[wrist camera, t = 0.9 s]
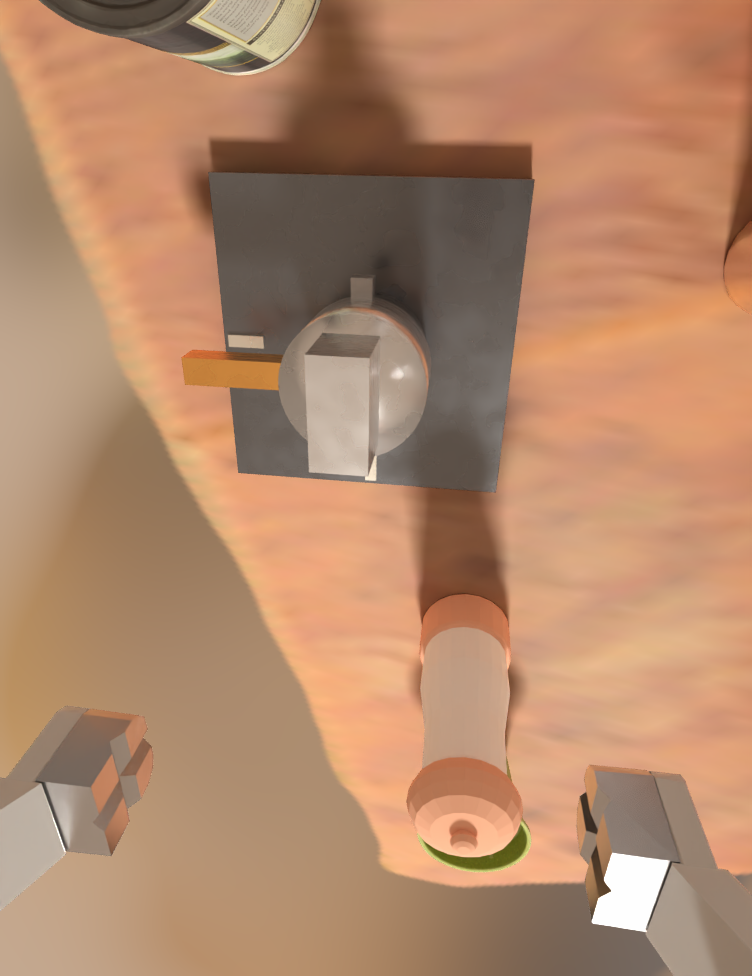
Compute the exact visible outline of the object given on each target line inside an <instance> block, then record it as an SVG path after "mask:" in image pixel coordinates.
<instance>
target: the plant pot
mask: <svg viewBox="0 0 752 976" xmlns="http://www.w3.org/2000/svg"><path fill="white" fill-rule="evenodd" d="M506 765H507V776H508V777H509V779H510V780H511V782H512V779H511V775H510V770H509V766H508V761H507V756H506ZM417 835H418V839H419V842H420V844H421V845H422V847H423V848H424V850H425V851H426V852H427V853H428V854H429V855H430V856H431V857H433V858H434V859H435V860H437V861H439V862H441V863H443V864H445V865H447V866H450V867H452V868H456V869H460V870H464V871H470V872H492V871H499V870H503V869H505V868H508V867H511V866H512V865H515V864H516V863H518V862H519V861H520V860H522V859H523V858H524V857H525V856H526V854H527V853H528V851H529V849H530V846H531V834H530V830H529V828H528V826H527V824H526V823H525V821H524V820H523V818H522V819H521V823H520V826H519V829H518V831H517V833H516V835H515V836H514V837H513V839H512V840H511V841H510V842H509V843H508V844H507V846H506V847H505V848H504V849H502V850H500V851H498V852H496V853H494V854H491V855H486V856H481V857H460V856H455V855H450V854H447V853H444V852H442V851H439V850H437V849H435V848H433V847H432V846H430V845H429V844H427V843H426V842H425V841H424V840H423V839H422V838H421V836H420V835H419V834H418V833H417Z"/></svg>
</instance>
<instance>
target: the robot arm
mask: <svg viewBox="0 0 752 976" xmlns="http://www.w3.org/2000/svg"><path fill="white" fill-rule="evenodd" d="M147 730H148V728H147V725H146V722H145V717H144V716H139V715H132V714H125V713H118V712H110V711H104V710H97V709H88V708H80V707H73V706H65V707H63V708H62V709H60V710H59V711H57V712H56V714H55V715H54V716H53V717H52V719H51V720H50V721H49V723H48V724H47V725H46V726H45V728H44V729H43V730H42V732H41V733H40V734H39V736H38V737H37V738H36V740H35V741H34V742H33V744H32V745H31V746H30V748H29V749H28V750H27V751H26V753H25V754H24V755H23V757H22V758H21V759H20V760H19V762H18V763H17V764H16V766H15V767H14V768H13V770H12V771H11V772H10V773H9V775H8V776H7V777H6V778H0V911H1V910H2V909H3V908H4V907H5V906H7V905H8V904H9V903H10V902H11V901H12V900H13V899H15V898H16V897H17V896H18V895H19V894H21V893H22V892H23V891H24V890H25V889H26V888H27V887H29V886H30V885H31V884H32V883H33V882H34V881H35V880H37V879H38V878H39V877H40V876H41V875H43V874H44V873H45V872H46V871H47V870H48V869H49V868H50V867H52V866H53V865H54V864H55V863H56V862H57V861H59V860H60V859H61V858H62V857H63V856H64V855H66V852H65V851H69V852H78V853H87V854H98V855H106V856H112V854H113V852H114V850H115V848H116V846H117V844H118V842H119V840H120V839H121V837H122V835H123V833H124V831H125V829H126V827H127V825H128V823H129V821H130V820H129V815H128V808H129V807H131V806H132V805H133V804H135V803H136V802H137V801H139V800H140V799H141V798H142V796H143V794H144V792H145V790H146V788H147V786H148V784H149V780H150V777H151V773H152V769H153V751H152V747H151V745H150V744H149V743H148V742H147V741H146V740H145V739H144V738H143V737H144V735H145V733H146V731H147ZM584 782H585V787H586V792H585V793H584V794H582V795H581V796H580V798H579V803H578V808H577V836H578V844H579V850H580V855H581V856H582V857H583V859H584V860H585V861H586V862H587V864H588V865H589V866H588V870H587V874H586V878H585V886H586V891H587V897H588V903H589V908H590V914H591V920H592V923H597V924H603V925H609V926H615V927H621V928H627V929H633V930H638V931H645V932H646V936H647V937H648V939H649V940H650V942H651V943H652V945H653V946H654V948H655V949H656V950H657V952H658V953H659V955H660V956H661V958H662V959H663V961H664V962H665V963H666V965H667V966H668V968H669V969H670V971H671V972H672V974H673V975H674V976H752V894H751V893H750V892H749V891H748V890H747V889H746V888H745V887H744V886H743V885H742V884H741V883H740V882H739V881H738V880H737V879H736V878H735V877H734V876H733V875H732V874H731V873H730V872H729V871H728V870H724V869H718V867H717V865H716V862H715V859H714V857H713V854H712V851H711V849H710V846H709V843H708V841H707V838H706V835H705V833H704V830H703V827H702V824H701V822H700V819H699V816H698V814H697V811H696V808H695V806H694V803H693V800H692V798H691V795H690V792H689V790H688V787H687V784H686V781H685V780H684V779H683V777H682V776H681V775H679V774H670V773H661V772H652V771H649V772H648V771H647V770H638V769H628V768H618V767H608V766H597V765H589V766H588V768H587V769H586V773H585V777H584Z"/></svg>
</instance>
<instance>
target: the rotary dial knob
mask: <svg viewBox="0 0 752 976" xmlns="http://www.w3.org/2000/svg"><path fill="white" fill-rule="evenodd" d="M182 365H183V373H184V380H185V385H199V386H215V387H232V388H248V389H265V390H279V396H280V399H281V403H282V406H283V409H284V411H285V413H286V415H287V417H288V419H289V421H290V422H291V424H292V425H293V426H294V428H295V429H296V430H297V431H298V432H299V434H300V435H301V436H302V437H304V438H305V439H306V440H307V441H308V460H309V472H312V473H326V474H339V475H352V476H366V477H368V476H369V472H370V469H371V466H372V463H373V460H374V456H378V455H381V454H384V453H386V452H388V451H390V450H392V449H394V448H396V447H397V446H399V445H400V444H401V443H403V442H404V441H405V440H406V439H407V438H408V437H409V436H410V435H411V433H412V432H413V431H414V430H415V428H416V426H417V425H418V423H419V421H420V419H421V417H422V414H423V411H424V408H425V404H426V398H427V392H428V386H429V380H430V374H431V355H430V350H429V346H428V343H427V340H426V338H425V336H424V333H423V332H422V330H421V328H420V327H419V325H418V324H417V323H416V322H415V320H414V319H413V318H412V317H411V316H410V315H409V314H408V313H407V312H405V311H404V310H403V309H401V308H400V307H398V306H396V305H395V304H393V303H391V302H388V301H386V300H383V299H380V298H376V297H375V275H370V274H354V275H353V276H352V277H351V297H348V298H344V299H341V300H338V301H336V302H334V303H332V304H330V305H328V306H327V307H325V308H324V309H323V310H321V311H320V312H319V313H318V314H317V315H316V316H315V317H314V318H313V319H312V320H311V321H310V322H309V323H308V324H307V325H306V326H305V327H304V328H303V329H302V330H301V332H300V333H299V334H298V335H297V336H296V337H295V338H294V339H293V340H292V342H291V343H290V345H289V346H288V348H287V349H286V351H285V354H284V355H279V354H260V353H242V352H223V351H205V350H192V351H190V352H189V353H187V354H186V355H184V356H183V357H182Z"/></svg>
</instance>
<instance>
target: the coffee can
mask: <svg viewBox="0 0 752 976" xmlns="http://www.w3.org/2000/svg"><path fill="white" fill-rule="evenodd" d="M39 1H40V2H41V3H43V4H44V5H45V6H47V7H48V8H49V9H51V10H52V11H54V12H55V13H56V14H58V15H59V16H61V17H63V18H64V19H66V20H68V21H70V22H71V23H73V24H75V25H77V26H80V27H82V28H85V29H88V30H91V31H94V32H97V33H100V34H105V35H108V36H113V37H120V38H125V39H129V40H131V41H134V42H137V43H140V44H143V45H146V46H149V47H152V48H155V49H158V50H161V51H164V52H167V53H170V54H173V55H176V56H179V57H182V58H184V59H187V60H190V61H193V62H196V63H199V64H202V65H203V66H205V67H207V68H209V69H212V70H214V71H217V72H221V73H224V74H230V75H251V74H256V73H259V72H262V71H265V70H268V69H270V68H272V67H274V66H276V65H278V64H279V63H281V62H282V61H284V60H285V59H286V58H287V57H288V56H289V55H290V54H291V53H292V52H293V51H294V50H295V49H296V48H297V47H298V46H299V45H300V43H301V42H302V40H303V39H304V38H305V36H306V35H307V33H308V31H309V29H310V27H311V25H312V23H313V21H314V19H315V16H316V13H317V11H318V8H319V5H320V2H321V0H39Z"/></svg>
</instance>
